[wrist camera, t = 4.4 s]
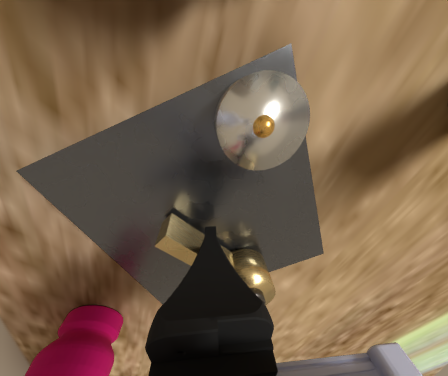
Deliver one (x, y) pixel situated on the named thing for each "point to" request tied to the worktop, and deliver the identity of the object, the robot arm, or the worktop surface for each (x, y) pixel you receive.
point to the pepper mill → (81, 344)
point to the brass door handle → (240, 259)
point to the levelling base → (196, 174)
